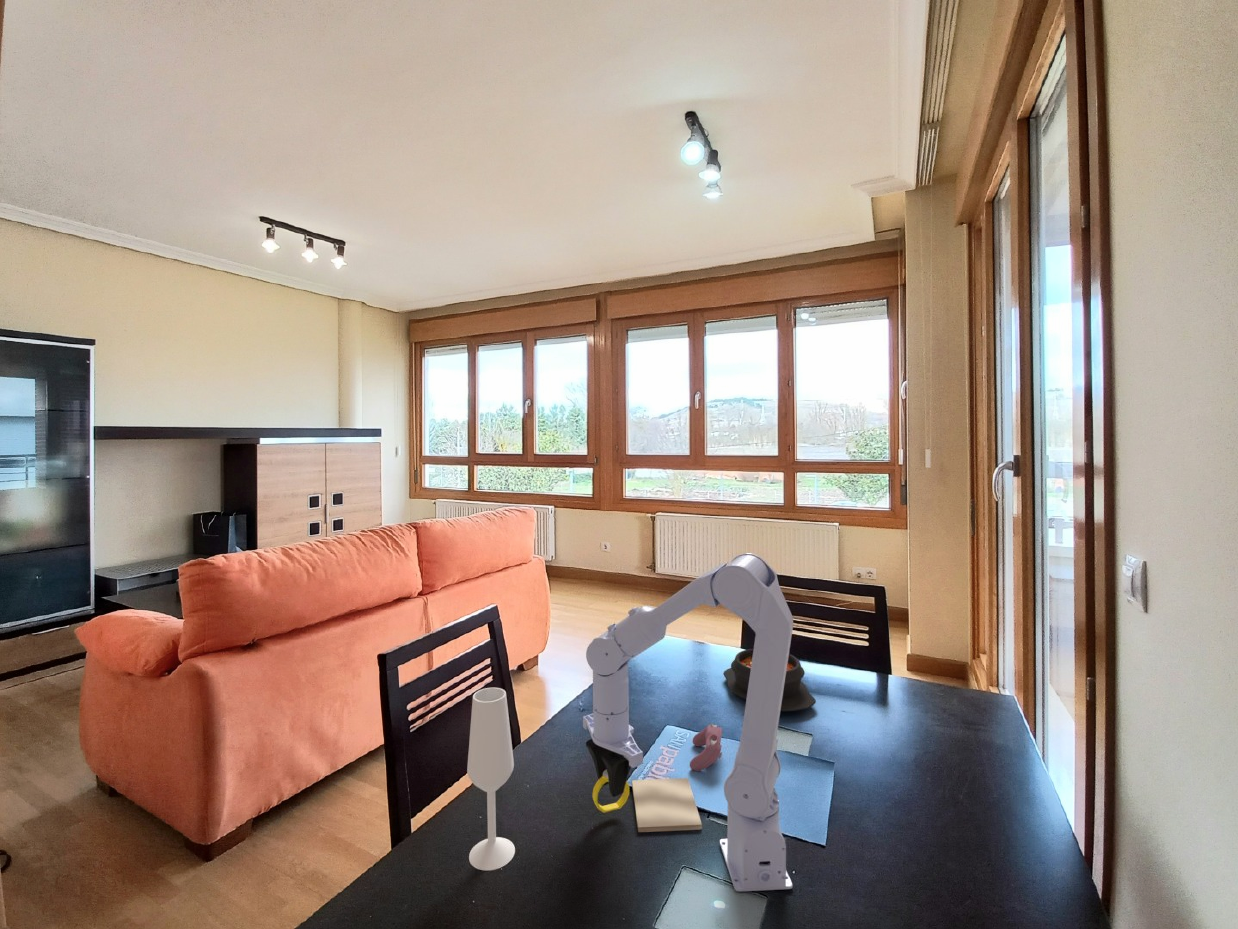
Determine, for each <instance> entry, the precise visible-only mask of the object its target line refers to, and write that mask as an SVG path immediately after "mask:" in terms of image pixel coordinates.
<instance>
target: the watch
mask: <svg viewBox="0 0 1238 929" xmlns="http://www.w3.org/2000/svg"><path fill="white" fill-rule="evenodd" d="M597 779H598V778H597ZM606 782H609V779H608V773H607V769H606V770H605V771H604V772H603V776H602V777H601V778H600V779H598V780H596V782H595V784H594V785H593V789H592V800H593V803H594V804H595V806H596V808H597V809H598V810H599V811H600V812H602V813H604V814H606V813H608V812H611V811H615V810H621V808H622V807H624V805H625V804H626V802H628V798H629V796H630V784H629V783H628V780H626V784H625V788H624V792H623V793H622V794H621V796H620V797H619V799H618V800H616V802H613V803H609V804H606V805H601V804H600V803H599V801H598V797H599V792H600V790H601V789H602V787H603V786H602V785H603V784H605V783H606Z"/></svg>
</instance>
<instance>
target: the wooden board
mask: <svg viewBox="0 0 1238 929" xmlns="http://www.w3.org/2000/svg"><path fill="white" fill-rule="evenodd" d="M631 786H632V794H633V795H632V796H633V804H634V808H635V817H636V818H635V819H636V826H637V833H650V832H651V833H652V832H655V833H656V832H674V831H696V830H698V831H699V830H702V829H703V825H702V820H701V816H700V813H699V811H698V807H697V806H698V805H697V803H696V800H695V797H694V794H693V791H692V786H691V783H690V780H689V777H680V778H678V777H677V778H658V779H657V778H656V779H655V778H653V779H634V780H633V779H632V780H631Z"/></svg>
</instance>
